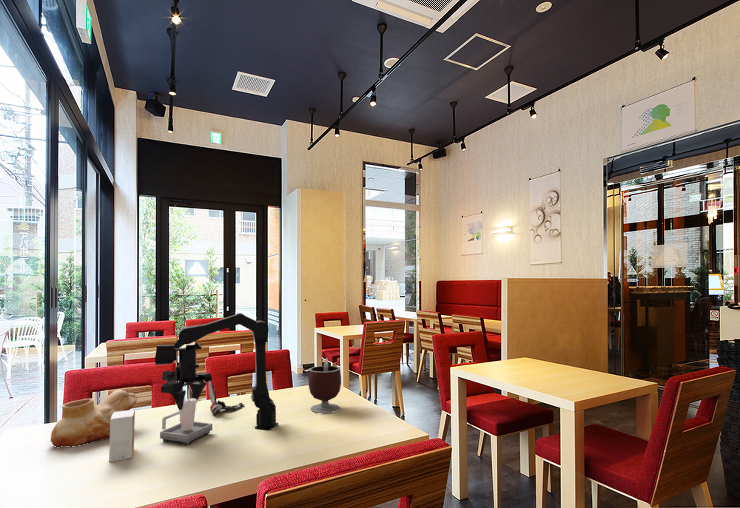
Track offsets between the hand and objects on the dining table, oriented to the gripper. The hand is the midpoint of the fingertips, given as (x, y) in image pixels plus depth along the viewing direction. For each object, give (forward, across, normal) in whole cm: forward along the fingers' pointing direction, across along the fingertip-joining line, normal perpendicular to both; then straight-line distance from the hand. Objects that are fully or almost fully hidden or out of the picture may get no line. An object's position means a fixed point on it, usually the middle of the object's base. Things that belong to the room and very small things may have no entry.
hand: (187, 406), depth 145 cm
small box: (+11, +18, -9) cm, 23 cm away
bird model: (+11, -29, -7) cm, 32 cm away
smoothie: (+8, 0, 0) cm, 8 cm away
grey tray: (+11, 0, 0) cm, 11 cm away
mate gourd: (+11, -44, +33) cm, 56 cm away
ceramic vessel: (+11, +9, -33) cm, 36 cm away
